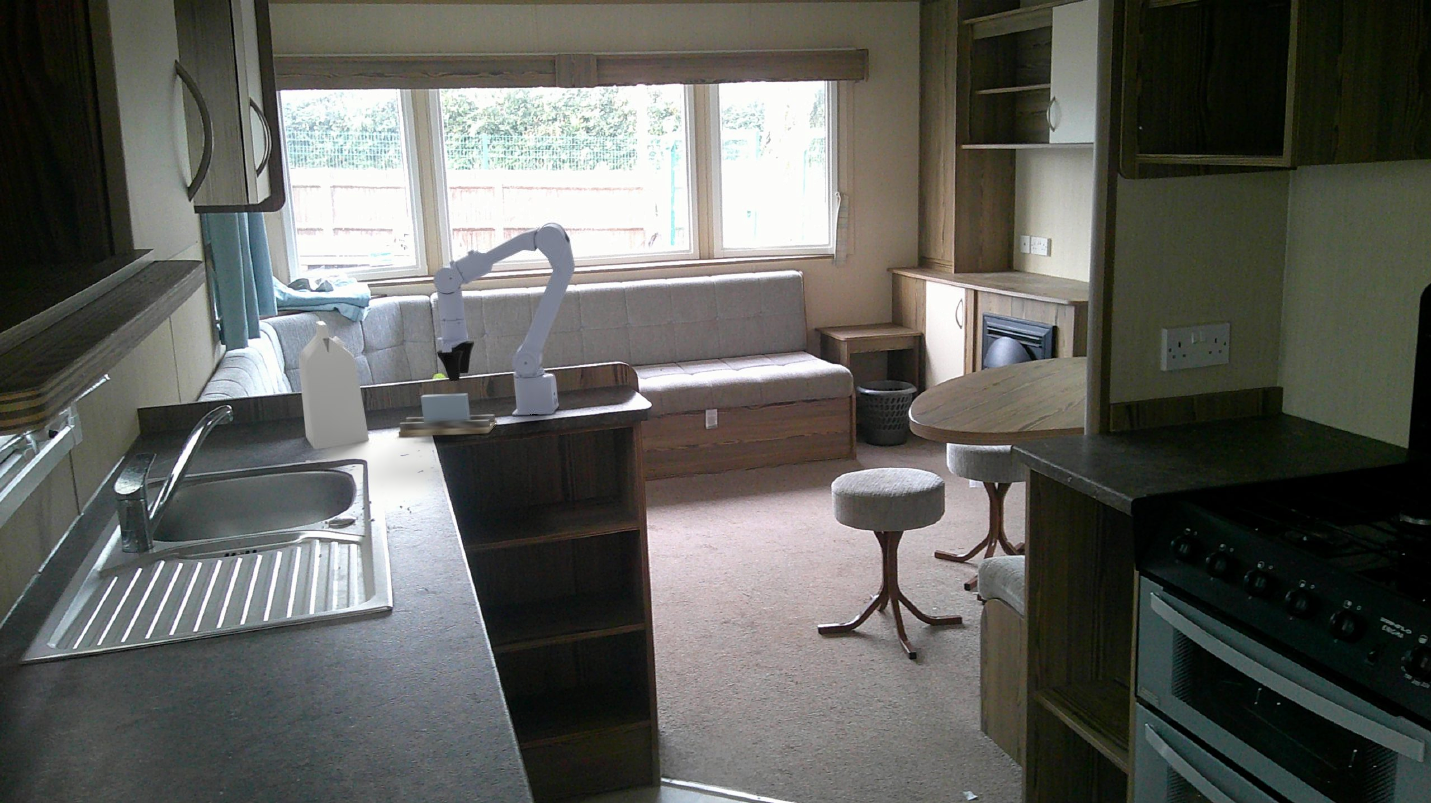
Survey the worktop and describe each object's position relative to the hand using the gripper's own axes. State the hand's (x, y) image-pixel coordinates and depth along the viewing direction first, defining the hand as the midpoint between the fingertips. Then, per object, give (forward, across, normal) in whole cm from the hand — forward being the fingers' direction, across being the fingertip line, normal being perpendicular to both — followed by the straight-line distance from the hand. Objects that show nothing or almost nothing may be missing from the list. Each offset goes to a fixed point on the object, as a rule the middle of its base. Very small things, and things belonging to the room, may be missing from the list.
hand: (459, 376), depth 264 cm
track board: (+9, +12, 0) cm, 15 cm away
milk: (+10, +16, -24) cm, 30 cm away
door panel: (+8, +12, 0) cm, 15 cm away
